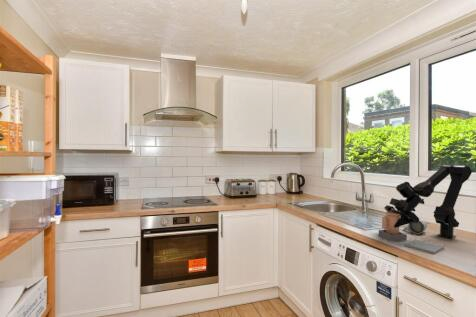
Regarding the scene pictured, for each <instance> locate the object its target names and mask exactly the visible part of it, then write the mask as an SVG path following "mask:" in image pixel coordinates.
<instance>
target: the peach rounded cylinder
mask: <svg viewBox="0 0 476 317" xmlns="http://www.w3.org/2000/svg"><path fill="white" fill-rule="evenodd" d="M381 219H382V220H381V228H382V230H386V233H388V234H391V235H395V234H399V232H400V226H399V227H397V228H395V227H394V225H395V224H396V222H397V221H398V220H399V219H400V213H397V212H387V211H386V212H385V215H384V216H381Z"/></svg>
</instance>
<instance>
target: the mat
mask: <svg viewBox="0 0 476 317" xmlns="http://www.w3.org/2000/svg"><path fill="white" fill-rule="evenodd" d="M403 246H404V247H406V248H409V249H414V250H418V251H421V252H425V253H429V254H433V255H437V253H439V252H441V251H443V250H444V249H445V246H442V245H438V244H434V243H430V242H426V241H423V240H419V239H412V240H410V241H409V242H406V243H404V245H403Z"/></svg>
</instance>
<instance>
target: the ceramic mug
mask: <svg viewBox="0 0 476 317" xmlns="http://www.w3.org/2000/svg"><path fill="white" fill-rule="evenodd" d="M411 222H412V221H411ZM427 227H428V226H427V223H426V221H425V220H423V219H421V218H419V222H418V223H417V224H416V223H413V222H412V223H409V224H407V225H406V226H403V229H404V231H408V230H409V231H410V232H411V233H413V234H416V235H420V234H422V233H424V232H425V231H426V230H427Z"/></svg>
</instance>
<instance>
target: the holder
mask: <svg viewBox="0 0 476 317" xmlns="http://www.w3.org/2000/svg"><path fill="white" fill-rule="evenodd" d="M378 236H379V237H381V238H383V239H385V240H386V241H387V240H388V241H390V242H402V241H403V242H406V241H407V240H408V234H406V233H404V232H402V231H399V234H395V235H391V234H388V233H386V230H385V229H378Z"/></svg>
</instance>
